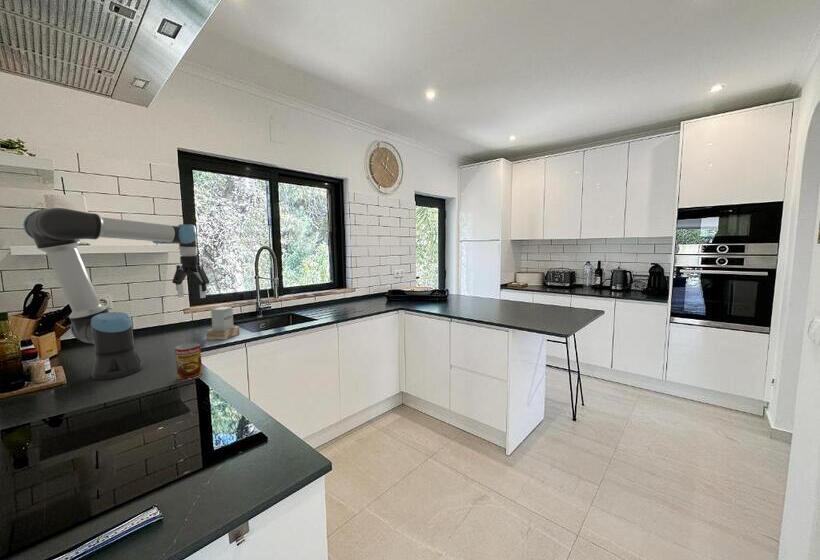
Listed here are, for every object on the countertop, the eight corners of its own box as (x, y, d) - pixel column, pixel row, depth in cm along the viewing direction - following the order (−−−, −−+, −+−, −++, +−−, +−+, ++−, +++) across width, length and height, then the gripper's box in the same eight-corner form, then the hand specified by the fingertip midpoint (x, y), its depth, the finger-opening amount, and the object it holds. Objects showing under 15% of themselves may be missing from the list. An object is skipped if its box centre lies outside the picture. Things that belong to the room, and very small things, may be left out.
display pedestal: (224, 340, 177) (224, 331, 177) (206, 339, 180) (206, 330, 179) (239, 334, 188) (238, 326, 188) (222, 333, 190) (221, 325, 190)
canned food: (178, 382, 125) (174, 350, 123) (178, 375, 131) (175, 345, 130) (203, 377, 129) (200, 346, 128) (202, 370, 136) (199, 341, 134)
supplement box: (224, 333, 179) (222, 309, 178) (212, 332, 181) (210, 309, 179) (234, 329, 186) (232, 306, 185) (222, 329, 188) (220, 306, 186)
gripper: (215, 255, 172) (218, 297, 174) (175, 255, 178) (178, 295, 180) (203, 255, 165) (206, 299, 167) (161, 255, 171) (165, 297, 173)
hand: (191, 297), depth 173 cm, fingers open, 13 cm apart
